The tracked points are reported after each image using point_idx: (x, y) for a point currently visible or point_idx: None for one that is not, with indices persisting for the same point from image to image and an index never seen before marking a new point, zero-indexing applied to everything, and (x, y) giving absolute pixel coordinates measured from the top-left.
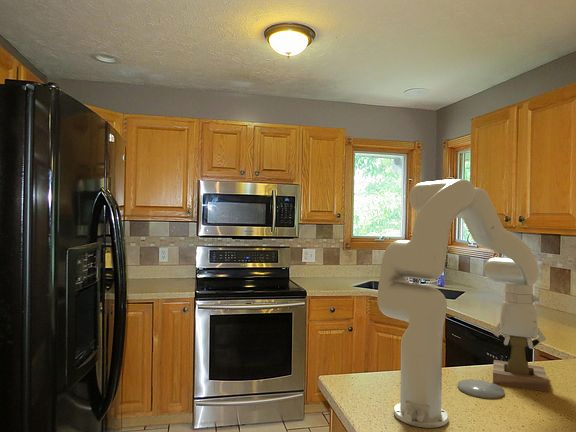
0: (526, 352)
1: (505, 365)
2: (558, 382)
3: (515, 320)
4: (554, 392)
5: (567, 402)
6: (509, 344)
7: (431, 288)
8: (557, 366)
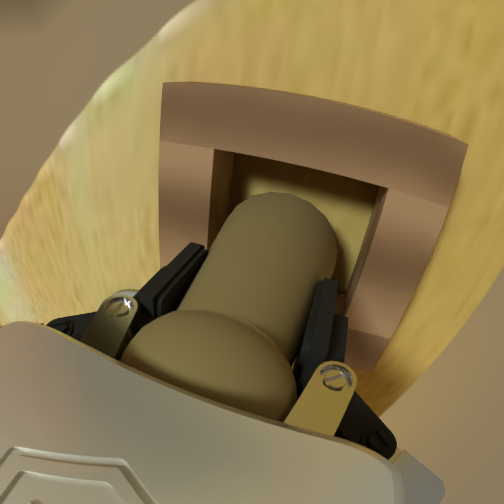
0: (299, 349)
1: (224, 149)
2: (484, 213)
3: None
4: (397, 336)
5: (390, 395)
6: (158, 311)
7: None
8: None
